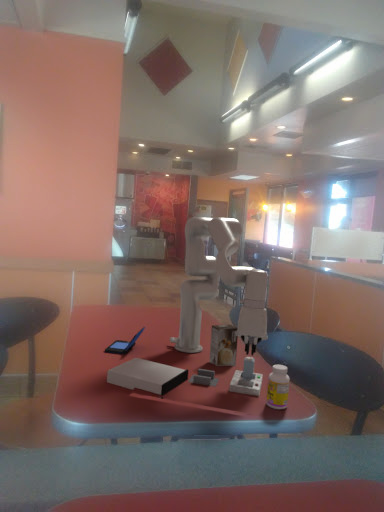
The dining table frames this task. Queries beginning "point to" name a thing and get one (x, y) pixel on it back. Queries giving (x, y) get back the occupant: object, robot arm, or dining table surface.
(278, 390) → the supplement bottle
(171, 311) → the dining table surface
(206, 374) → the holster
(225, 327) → the coffee box
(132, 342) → the handheld game console
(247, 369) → the plug
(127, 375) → the disc drive
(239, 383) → the port panel
